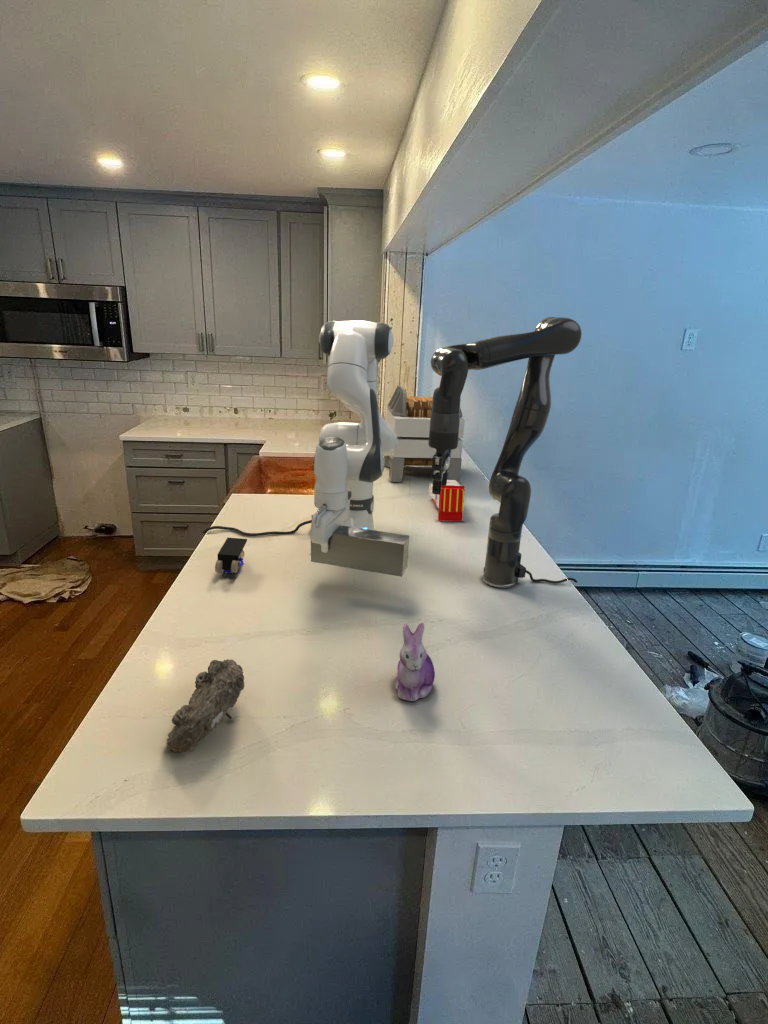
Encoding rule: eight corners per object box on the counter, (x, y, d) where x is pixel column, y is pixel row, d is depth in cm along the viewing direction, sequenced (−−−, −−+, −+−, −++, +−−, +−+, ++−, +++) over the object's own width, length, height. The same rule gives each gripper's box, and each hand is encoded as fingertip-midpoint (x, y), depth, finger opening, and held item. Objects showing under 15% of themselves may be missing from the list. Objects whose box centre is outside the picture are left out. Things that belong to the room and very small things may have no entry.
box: (310, 561, 157) (310, 529, 153) (319, 552, 162) (319, 521, 159) (402, 577, 150) (403, 544, 147) (407, 567, 156) (409, 535, 152)
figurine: (406, 709, 112) (411, 644, 107) (383, 680, 121) (386, 618, 116) (446, 696, 116) (452, 633, 111) (420, 669, 125) (425, 609, 120)
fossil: (192, 660, 117) (244, 628, 112) (224, 691, 120) (276, 661, 115) (142, 746, 98) (202, 712, 93) (182, 779, 101) (242, 748, 96)
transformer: (382, 463, 289) (386, 382, 275) (445, 464, 293) (451, 384, 279) (390, 482, 257) (394, 392, 243) (460, 483, 261) (468, 394, 247)
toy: (456, 475, 238) (469, 487, 209) (454, 506, 241) (466, 522, 212) (427, 474, 238) (436, 486, 209) (426, 505, 241) (434, 521, 211)
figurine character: (238, 584, 162) (249, 557, 175) (236, 562, 158) (247, 536, 172) (215, 584, 161) (227, 556, 175) (212, 561, 158) (225, 535, 171)
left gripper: (327, 513, 142) (327, 563, 147) (354, 489, 160) (352, 533, 165) (304, 510, 143) (304, 559, 148) (333, 486, 162) (332, 530, 167)
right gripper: (454, 435, 138) (448, 499, 143) (462, 425, 151) (457, 483, 156) (424, 432, 139) (419, 495, 145) (435, 422, 152) (430, 480, 158)
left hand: (330, 545), depth 157 cm, fingers closed on box, 6 cm apart
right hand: (439, 489), depth 150 cm, fingers open, 8 cm apart
